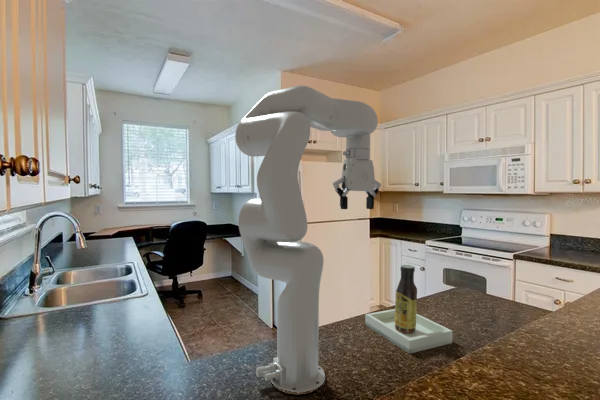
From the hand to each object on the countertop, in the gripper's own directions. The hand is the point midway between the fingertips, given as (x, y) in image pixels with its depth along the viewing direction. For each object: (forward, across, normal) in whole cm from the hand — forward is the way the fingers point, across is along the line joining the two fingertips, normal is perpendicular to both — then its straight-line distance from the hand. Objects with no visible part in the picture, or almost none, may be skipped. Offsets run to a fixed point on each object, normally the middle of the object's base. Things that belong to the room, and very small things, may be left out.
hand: (357, 209), depth 100 cm
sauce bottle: (+37, +12, -10) cm, 40 cm away
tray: (+38, +12, -10) cm, 41 cm away
